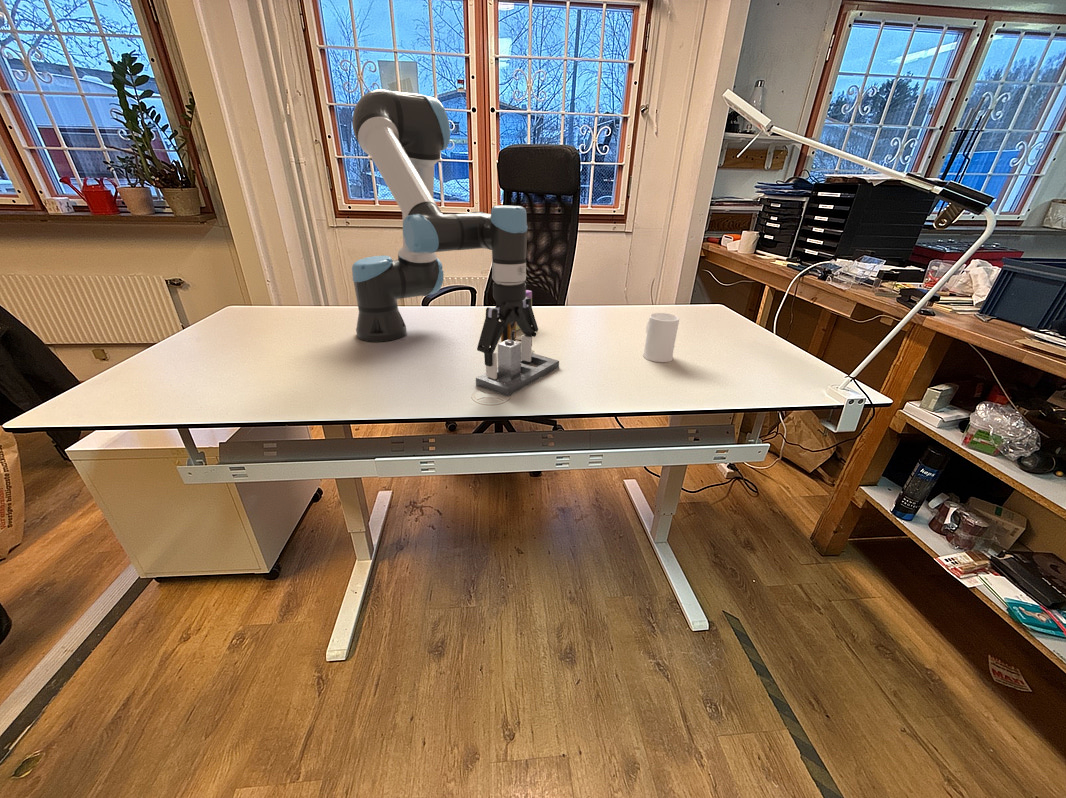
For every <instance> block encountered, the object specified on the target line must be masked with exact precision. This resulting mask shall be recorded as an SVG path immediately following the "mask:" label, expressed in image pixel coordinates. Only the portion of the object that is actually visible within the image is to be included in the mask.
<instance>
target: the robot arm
mask: <svg viewBox="0 0 1066 798" xmlns="http://www.w3.org/2000/svg"><path fill="white" fill-rule="evenodd" d="M352 114H353V115H352V129H353V134H354V136H355V139H356V141H357V143H358V145H359V147H360V148H361V150H362V151H363V152H364V153H365V154H367V155H368V156H370V157H371V159H372V161H373V162H374V164H375V166H376V169H377V170H378V172H379V174H380V176H381V177H382V179H383V180H384V182H385V184H386V186H387V187H388V189H389V191H390V193H391V196H392V197H393V198H394V200H395V202H396V204H397V206H398V207H399V209H400V211H401V213H402V215H401V216H402V247H401V248H400V249H399V250H397V259H393V258H392V257H391V256H390V255H373V256H368V257H364V258H361V259H358V260H356V261H355V262H354V263H353V264H352V266H351V273H352V281H353V286H354V290H355V297H356V303H357V307H358V317H357V320H356V328H355V331H356V337H357V339H359V340H360V341H364V342H373V343H374V342H378V343H379V342H380V343H381V342H389V341H394V340H397V339H401V338H403V337H404V336H406V334H407V325H406V323H405V320H404V319H403V317H402V314H401V312H400V311H399V307H398V300H402V299H408V298H415V297H416V298H417V297H428V295H433V294H436V293H438V292H439V291H440V290H441V288H442V286H443V284H444V283H443V282H444V275H445V274H444V270H443V264H442V261H441V260H440V259H439V258H438V256H437V253H441V252H450V251H465V250H478V249H484V250H485V249H486V250H490V251H491V260H492V261H491V265H492V266H491V269H492V270H491V272H492V275H491V276H492V280H493V281H494V282H493V283H492V298H493V299H494V301H495V303H496V304H495V307H489V306H488V307H486V308H485V319H484V321H483V326H482V329H481V333H480V337H479V340H478V344H477V347H476V350H477V351H478V352H481V353H484V365H485V373H486V376H487V377H490V378H492V379H497V367H498V351H495V350H496V349H497V347H498V344H499V341H500V340H501V335H502V333H503V330H504V328H506V327H507V326H508V324H510V323H512V322H515V321H516V323H517V324H518V326H519V327H520V329H519V330H521V332H522V334H523V335H521V337H520V338H521V339H520V340H521V341H520V343H521V360H525V361H528V362H531V353H532V351H533V350H532V347H533V338H535V337H536V336H537V332H539V327H538V323H537V321H536V317H535V314H534V311H533V306H532V307H531V299H530V298H526V290H527V283H526V282H525V281H526V280H527V250H528V249H527V246H528V245H527V242H528V222H527V221H528V218H527V210H526V208H525V207H523V206H521V205H505V204H504V205H494V206H493V207H492V208H491V211H490V212H491V213H489V212H488V213H486V212H484V211H471V212H467V213H442V211H441V209H440V208H439V206H438V205H437V202H436V200H435V199H434V190H435V189H434V186H435V185H434V184H435V183H434V182H435V181H434V180H435V165H436V164H437V163H438V162H439V161H440V160H441V151H445V150H446V149H447V148H448V147H449V144H450V140H451V138H450V137H451V128H450V122H449V121H450V120H449V118H448V113H447V112H446V110H445V107H444V106H443V104H442V103H441V101H440V100H439V99H437V98H436V97H433V96H428V95H424V94H422V93H421V94H420V93H413V92H412V93H411V92H401V91H394V90H393V91H392V90H387V89H381V88H380V89H374V90H371V91H368V92H367V93H365V94H364V95H363V96H361V98H360V99H359V100H358V101H357V103H356V105H355V107H354V109H353V113H352ZM531 350H532V351H531Z"/></svg>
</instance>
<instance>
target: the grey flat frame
mask: <svg viewBox="0 0 1066 798" xmlns="http://www.w3.org/2000/svg"><path fill="white" fill-rule="evenodd" d="M530 364H533V365H536V367H534V366H531V365H530ZM559 368H560V360H559V359H555V358H551V357H548V356H544V355H540V354H537V353H535V352H531V362H528V361H525V360H521V376H519V377H517V378H515V379H513V380H512V381H510V382H508V383H506V384H504V383H501V382H498V366H497V379H492V378H490V377H487V376H486V372H485V373H482V374H481V375H478V376H476V377H475V385H476V386H478V387H480V388H483V389H486V390H488V391H492V393H493V392H494V393H497V394H500V395H503V396H504V397H510V396H512V395H513V394H515V393H517V392H518V391H520V390H522V389H524V388H525V387H527V386H529V385H531V384H533V383H535V382H536V381H537V380H540V379H541V378H543V377H545V376H546V375H547V376H548V375H549V374H551V373H552V372H553V371H556V370H557V369H559Z"/></svg>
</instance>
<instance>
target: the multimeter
mask: <svg viewBox="0 0 1066 798" xmlns="http://www.w3.org/2000/svg"><path fill="white" fill-rule="evenodd" d="M516 334H517V330H516V321H515V322H512V323H510V324H508V326H507V327H506V328H504V330H503V333H502V335H501V337H500V340H501V341H500V343H501V342H503V341H506V340H512V341H515V342H517V341H519V342H521V339H517V337H516V336H517V335H516ZM531 352H532V353H535V350H531Z"/></svg>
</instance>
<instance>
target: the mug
mask: <svg viewBox="0 0 1066 798" xmlns="http://www.w3.org/2000/svg"><path fill="white" fill-rule="evenodd" d="M648 317H649V319H648V321H647V323H646V331H645V333H646V336H645V344H644V350H643V352H642V357H643V358H644V359H646V360H648V361H651V362H655V363H669V362H672V361H673V359H674V350H675V344H676V339H677V333H678V328H679V322H680V317H679V316H677V315H675V314H671V313H667V312H655V313H651V314H650V315H649V316H648Z"/></svg>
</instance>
